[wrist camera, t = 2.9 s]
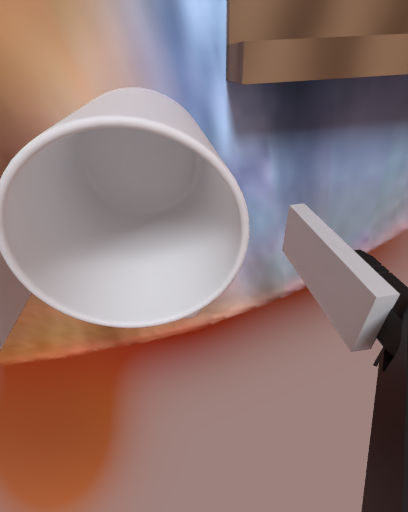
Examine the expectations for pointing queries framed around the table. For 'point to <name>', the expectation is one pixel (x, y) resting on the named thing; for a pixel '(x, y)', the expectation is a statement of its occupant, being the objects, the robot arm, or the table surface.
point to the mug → (123, 213)
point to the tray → (315, 39)
